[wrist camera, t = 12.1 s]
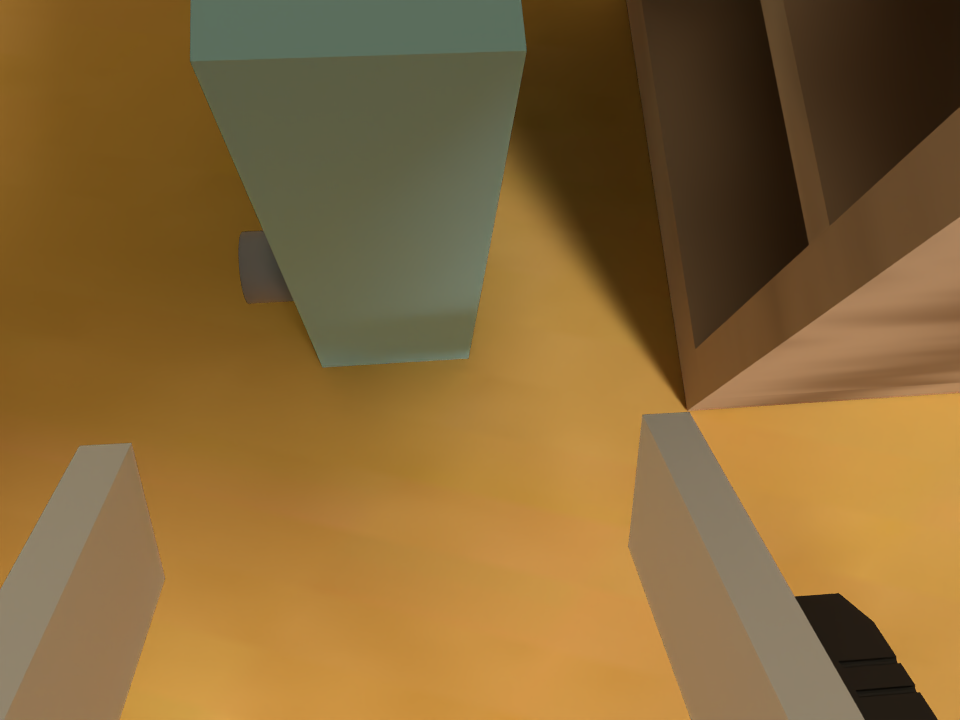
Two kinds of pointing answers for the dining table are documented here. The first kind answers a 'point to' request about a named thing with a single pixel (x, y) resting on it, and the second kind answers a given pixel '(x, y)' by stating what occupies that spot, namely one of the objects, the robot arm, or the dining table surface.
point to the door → (366, 160)
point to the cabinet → (806, 194)
